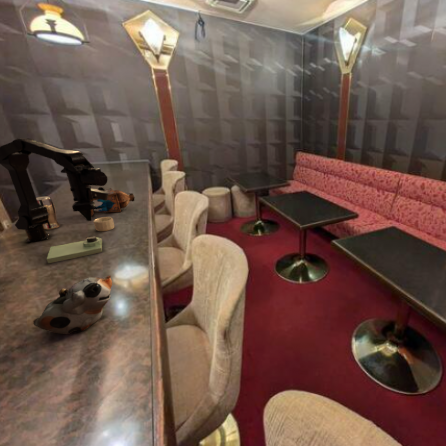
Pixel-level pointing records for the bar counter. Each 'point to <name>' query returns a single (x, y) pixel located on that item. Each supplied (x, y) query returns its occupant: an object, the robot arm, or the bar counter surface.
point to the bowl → (104, 223)
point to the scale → (74, 250)
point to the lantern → (113, 202)
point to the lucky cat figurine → (76, 306)
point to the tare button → (91, 239)
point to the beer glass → (50, 207)
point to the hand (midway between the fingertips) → (89, 220)
